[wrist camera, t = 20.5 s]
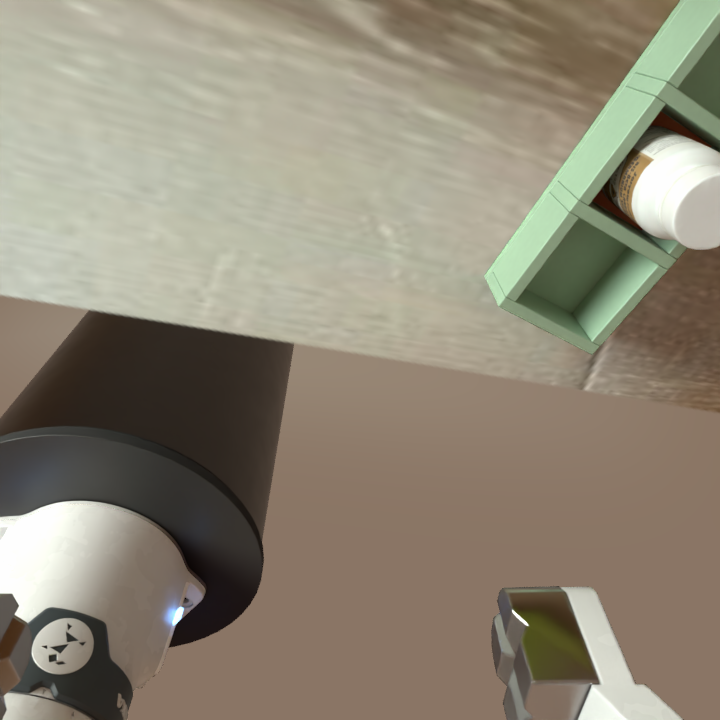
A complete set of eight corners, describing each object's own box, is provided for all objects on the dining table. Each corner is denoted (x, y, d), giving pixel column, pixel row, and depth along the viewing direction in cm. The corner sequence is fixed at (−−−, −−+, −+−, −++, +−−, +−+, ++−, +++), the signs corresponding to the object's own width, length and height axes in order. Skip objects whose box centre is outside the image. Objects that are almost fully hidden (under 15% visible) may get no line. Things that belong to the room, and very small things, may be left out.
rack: (570, 321, 37) (592, 355, 34) (483, 276, 36) (498, 306, 32) (820, 22, 28) (885, 26, 25) (722, -59, 27) (777, -67, 23)
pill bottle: (589, 145, 31) (654, 187, 24) (675, 109, 30) (765, 143, 23) (605, 219, 33) (668, 275, 26) (685, 188, 32) (770, 238, 25)
